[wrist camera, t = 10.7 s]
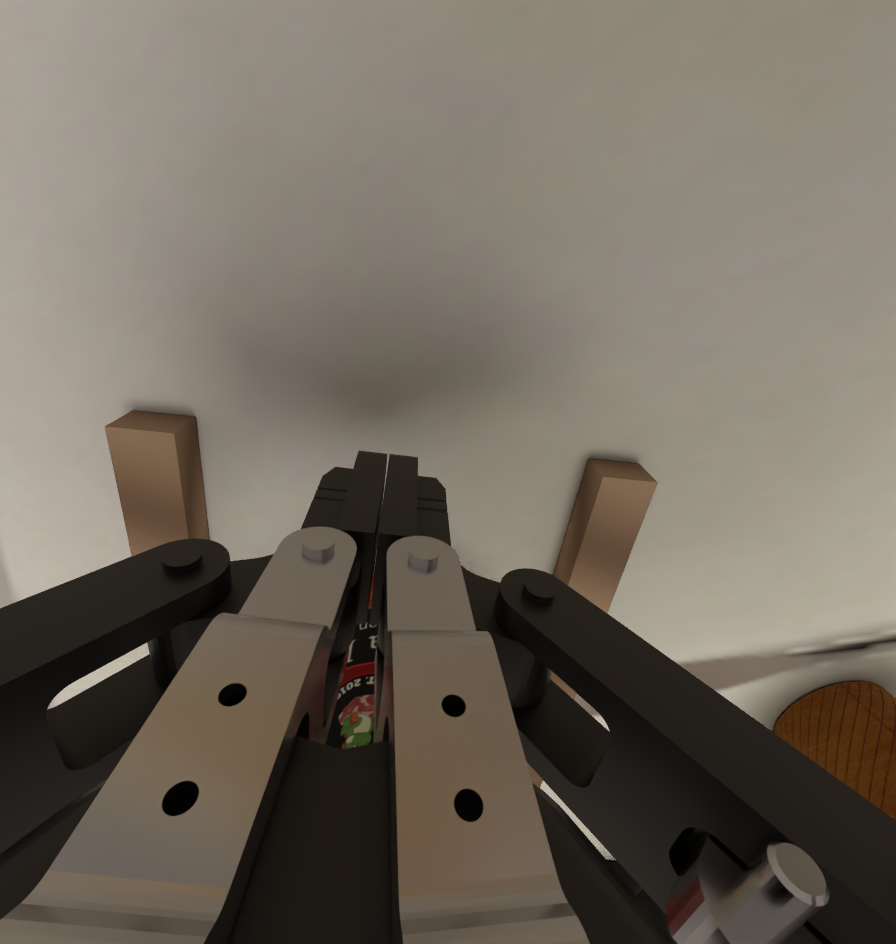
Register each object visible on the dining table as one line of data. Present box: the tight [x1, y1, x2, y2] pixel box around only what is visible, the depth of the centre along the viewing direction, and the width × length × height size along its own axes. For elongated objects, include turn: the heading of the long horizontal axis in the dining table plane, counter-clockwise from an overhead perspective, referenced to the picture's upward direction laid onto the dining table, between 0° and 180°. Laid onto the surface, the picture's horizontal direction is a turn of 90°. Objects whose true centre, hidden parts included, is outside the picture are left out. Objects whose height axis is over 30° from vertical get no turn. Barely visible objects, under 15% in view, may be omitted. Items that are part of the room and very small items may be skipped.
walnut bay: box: [105, 411, 658, 788], centre depth 20 cm, size 20×18×2 cm
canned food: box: [325, 576, 379, 749], centre depth 16 cm, size 8×8×11 cm
